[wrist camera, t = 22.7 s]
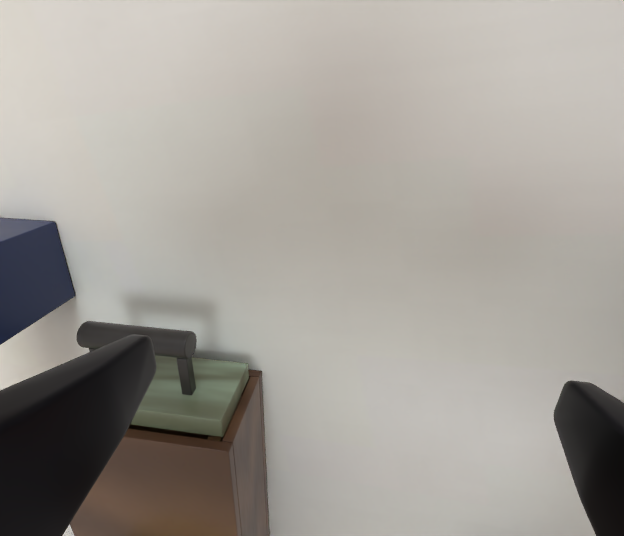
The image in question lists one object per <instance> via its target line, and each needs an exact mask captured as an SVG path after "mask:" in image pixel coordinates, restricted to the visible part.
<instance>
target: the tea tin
mask: <svg viewBox="0 0 624 536" xmlns="http://www.w3.org/2000/svg"><path fill="white" fill-rule="evenodd" d="M74 296H75V293H74V289H73V286H72V282H71V278H70V275H69V271H68V268H67V264H66V260H65V257H64V253H63V249H62V246H61V242H60V238H59V235H58V231H57V227H56V224H55V222H53V221H39V220H25V219H11V218H0V345H1V344H2V343H4V342H5V341H7V340H8V339H10V338H11V337H13V336H14V335H16V334H18V333H19V332H21V331H22V330H24V329H25V328H27V327H28V326H30V325H31V324H33V323H34V322H36V321H38V320H39V319H41V318H42V317H44V316H45V315H47V314H48V313H50V312H51V311H53V310H54V309H56V308H58V307H59V306H61V305H62V304H64V303H65V302H67V301H68V300H70V299H71V298H73V297H74Z"/></svg>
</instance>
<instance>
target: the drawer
mask: <svg viewBox="0 0 624 536" xmlns="http://www.w3.org/2000/svg"><path fill="white" fill-rule="evenodd" d="M133 334H135V335H145V336H148V337H150V338H151V340H152V343H153V348H154V353H155V359H156V365H157V367H156V373H155V375H154V378H153V380H152V382H151V384H150V386H149V388H148V390H147V392H146V394H145V396H144V398H143V400H142V402H141V404H140V406H139V408H138V410H137V412H136V414H135V416H134V418H133V420H132V422H131V424H130V426H129V429H136V430H143V431H150V432H158V433H165V434H172V435H179V436H186V437H193V438H201V439H208V440H215V441H222V440H223V438H224V435H225V433H226V431H227V429H228V426H229V424H230V422H231V419H232V417H233V415H234V413H235V410H236V408H237V406H238V403H239V401H240V399H241V397H242V396H241V395H242V393H243V390H244V388H245V386H246V384H247V381H248V379H249V372H248V364H247V363H239V362H230V361H221V360H212V359H203V358H194V357H192V355H193V354H194V351H195V348H196V335H195V333H194V332H191V331H181V330H171V329H161V328H152V327H142V326H132V325H122V324H113V323H103V322H93V321H87V322H85V323H83V324H82V325H81V326H80V328H79V330H78V332H77V342H78V344H79V345H80V346H81V347H85V348H89V351H90V352H92V351H94V350H96V349H99V348H101V347H103V346H106V345H108V344H110V343H113V342H115V341H117V340H120V339H122V338H124V337H127V336H129V335H133Z"/></svg>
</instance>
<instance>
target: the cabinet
mask: <svg viewBox="0 0 624 536" xmlns="http://www.w3.org/2000/svg"><path fill="white" fill-rule="evenodd" d="M248 372H249V379H248V381H247V384H246V386H245V388H244V390H243V393H242V395H241V396H242V397H241V399H240V401H239V403H238V406H237V408H236V410H235V413H234V415H233V417H232V419H231V422H230V424H229V426H228V429H227V431H226V433H225V435H224V438H223V440H222V441H215V440H208V439H201V438H193V437H186V436H179V435H172V434H165V433H158V432H150V431H143V430H136V429H129V428H128V430H127V431H126V433H125V435H124V437H123V439H122V440H121V442H120V444H119V445H118V447H117V448H116V450H115V452H114V453H113V455H112V457H111V458H110V460H109V461H108V463H107V465H106V466H105V468H104V469H103V471H102V473H101V474H100V476H99V477H98V479H97V481H96V482H95V484H94V485H93V487H92V489H91V490H90V492H89V493H88V495H87V497H86V498H85V500H84V501H83V503H82V505H81V506H80V508H79V509H78V511H77V513H76V514H75V516H74V518H73V519H72V521H71V522H70V525H71V528H72V530H73V533H74V535H75V536H269V518H268V497H267V476H266V454H265V433H264V412H263V391H262V371H256V370H248Z"/></svg>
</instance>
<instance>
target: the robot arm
mask: <svg viewBox="0 0 624 536" xmlns="http://www.w3.org/2000/svg"><path fill="white" fill-rule="evenodd" d="M156 367H157V365H156V359H155V353H154V348H153V343H152V340H151V338H150V337H148V336H145V335H135V334H133V335H129V336H127V337H124V338H122V339H120V340H117V341H115V342H113V343H110V344H108V345H106V346H103V347H101V348H99V349H96V350H94V351H92V352H89V353H87V354H85V355H82V356H80V357H78V358H75V359H73V360H71V361H68V362H66V363H64V364H61V365H59V366H57V367H54V368H52V369H50V370H47V371H45V372H43V373H40V374H38V375H36V376H33V377H31V378H29V379H26V380H24V381H22V382H19V383H17V384H15V385H12V386H10V387H8V388H5V389H3V390H1V391H0V536H62V535H63V534H64V532H65V530H66V529H67V527H68V526H69V524H70V522H71V521H72V519H73V518H74V516H75V514H76V513H77V511H78V509H79V508H80V506H81V505H82V503H83V501H84V500H85V498H86V497H87V495H88V493H89V492H90V490H91V489H92V487H93V485H94V484H95V482H96V481H97V479H98V477H99V476H100V474H101V473H102V471H103V469H104V468H105V466H106V465H107V463H108V461H109V460H110V458H111V457H112V455H113V453H114V452H115V450H116V448H117V447H118V445H119V444H120V442H121V440H122V439H123V437H124V435H125V433H126V431H127V430H128V428H129V426H130V424H131V422H132V420H133V418H134V416H135V414H136V412H137V410H138V408H139V406H140V404H141V402H142V400H143V398H144V396H145V394H146V392H147V390H148V388H149V386H150V384H151V382H152V380H153V378H154V375H155V373H156ZM554 422H555V425H556V428H557V431H558V434H559V437H560V440H561V443H562V446H563V449H564V453H565V456H566V459H567V462H568V465H569V468H570V471H571V474H572V477H573V480H574V483H575V486H576V488H577V491H578V494H579V497H580V499H581V502H582V504H583V506H584V509H585V511H586V513H587V516H588V518H589V520H590V522H591V525H592V527H593V529H594V531H595V534H596V536H624V403H623V402H621V401H620V400H618V399H617V398H615V397H613V396H612V395H610V394H609V393H607V392H605V391H604V390H602V389H601V388H599V387H597V386H596V385H594V384H592V383H588V382H579V381H568V382H567V383H566V384H565V385H564V387H563V389H562V392H561V394H560V397H559V400H558V402H557V405H556V407H555V410H554Z"/></svg>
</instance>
